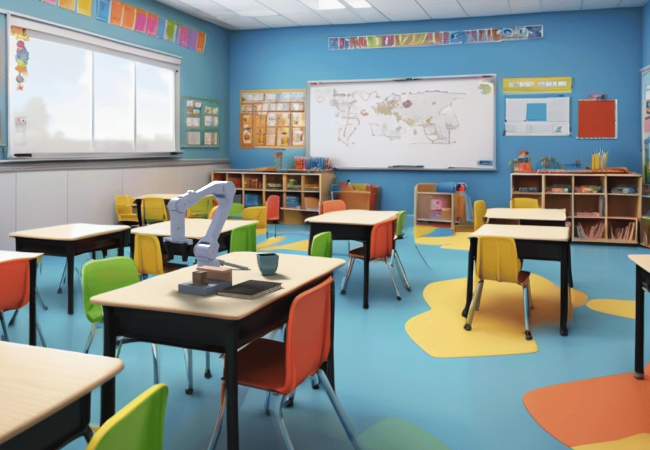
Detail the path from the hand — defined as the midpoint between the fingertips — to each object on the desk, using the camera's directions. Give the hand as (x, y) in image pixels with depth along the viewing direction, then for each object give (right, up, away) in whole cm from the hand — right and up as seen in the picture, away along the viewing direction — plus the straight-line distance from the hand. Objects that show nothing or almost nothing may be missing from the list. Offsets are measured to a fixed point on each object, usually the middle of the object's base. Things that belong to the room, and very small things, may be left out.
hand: (177, 260), depth 246 cm
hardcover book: (+31, -12, -8) cm, 34 cm away
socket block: (+13, -11, -7) cm, 18 cm away
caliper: (+15, -7, +38) cm, 42 cm away
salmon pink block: (+15, -8, -3) cm, 17 cm away
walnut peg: (+11, -12, -10) cm, 19 cm away
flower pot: (+34, -8, +25) cm, 43 cm away
